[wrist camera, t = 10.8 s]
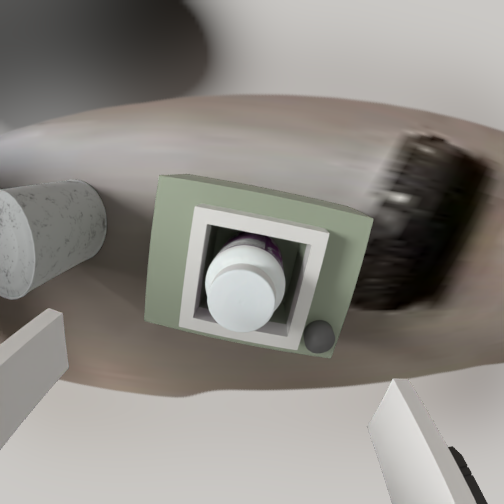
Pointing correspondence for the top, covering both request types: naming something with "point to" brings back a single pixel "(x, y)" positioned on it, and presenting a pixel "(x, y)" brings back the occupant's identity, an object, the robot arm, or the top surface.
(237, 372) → the top surface
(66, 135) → the top surface
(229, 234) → the green open box
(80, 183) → the speckled grey cylinder
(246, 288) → the pill bottle
